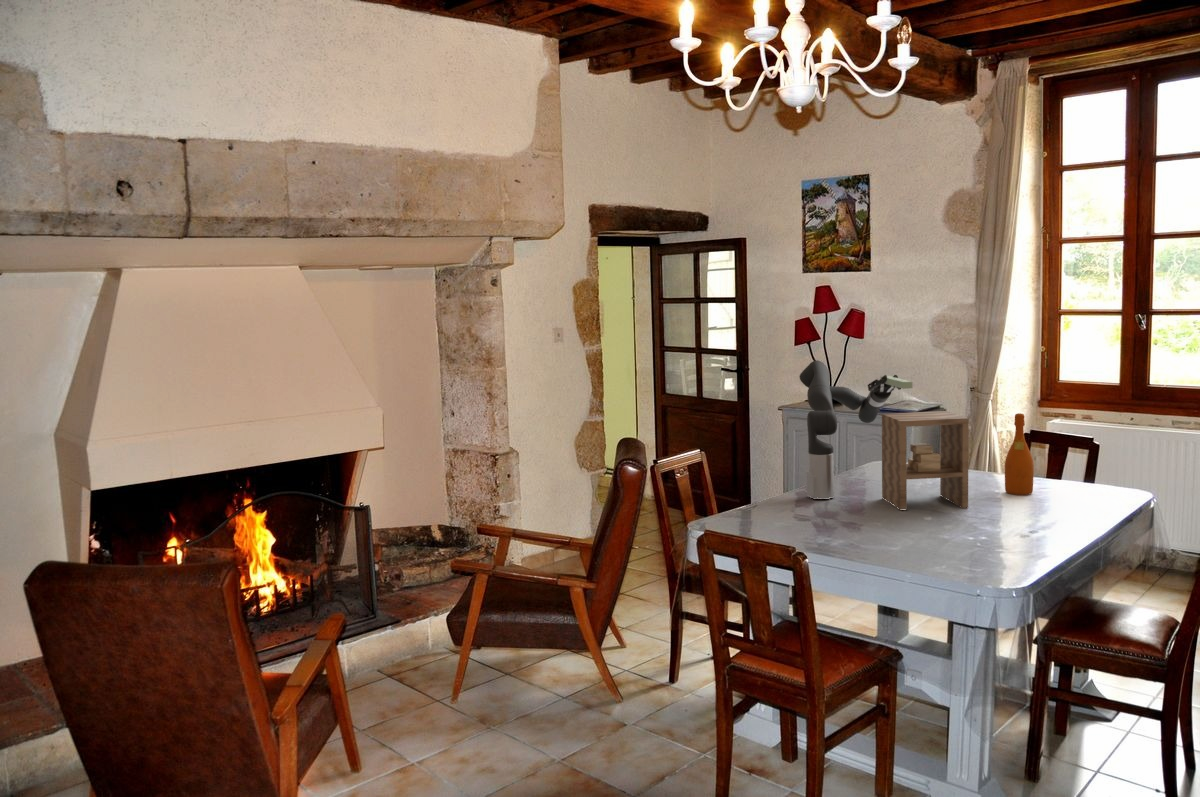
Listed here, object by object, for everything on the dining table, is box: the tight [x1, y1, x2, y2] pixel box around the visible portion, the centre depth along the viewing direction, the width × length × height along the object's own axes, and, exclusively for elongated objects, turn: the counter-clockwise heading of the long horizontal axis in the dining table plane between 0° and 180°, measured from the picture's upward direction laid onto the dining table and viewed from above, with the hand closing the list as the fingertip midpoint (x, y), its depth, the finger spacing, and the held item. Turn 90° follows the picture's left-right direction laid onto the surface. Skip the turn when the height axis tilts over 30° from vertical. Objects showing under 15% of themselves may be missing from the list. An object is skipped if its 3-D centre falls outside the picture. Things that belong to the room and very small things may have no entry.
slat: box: [879, 375, 913, 390], centre depth 369 cm, size 26×4×2 cm, turn 2°
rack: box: [881, 410, 970, 510], centre depth 343 cm, size 20×24×32 cm
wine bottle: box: [1004, 412, 1035, 496], centre depth 353 cm, size 10×10×30 cm
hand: (891, 377), depth 375 cm, fingers closed on slat, 3 cm apart
